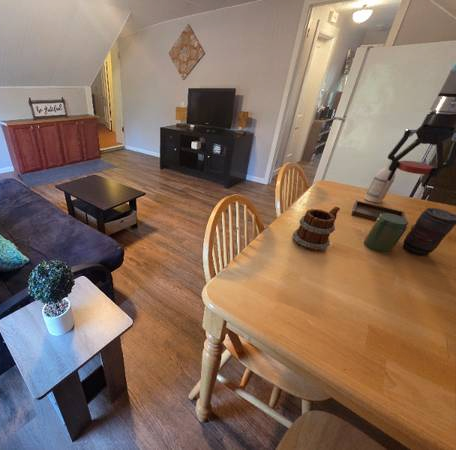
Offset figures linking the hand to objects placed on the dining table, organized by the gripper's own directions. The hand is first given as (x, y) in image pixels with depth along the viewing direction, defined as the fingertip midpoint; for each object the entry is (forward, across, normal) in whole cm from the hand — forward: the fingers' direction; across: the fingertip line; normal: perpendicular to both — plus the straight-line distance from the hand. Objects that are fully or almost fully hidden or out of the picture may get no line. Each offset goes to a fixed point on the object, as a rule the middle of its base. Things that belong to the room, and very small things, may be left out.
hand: (405, 182), depth 86 cm
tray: (+20, -1, +15) cm, 25 cm away
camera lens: (+20, +10, -8) cm, 24 cm away
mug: (+20, -19, -25) cm, 38 cm away
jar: (+20, 0, -14) cm, 24 cm away
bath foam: (+20, -2, +33) cm, 38 cm away
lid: (-6, 0, 0) cm, 6 cm away
